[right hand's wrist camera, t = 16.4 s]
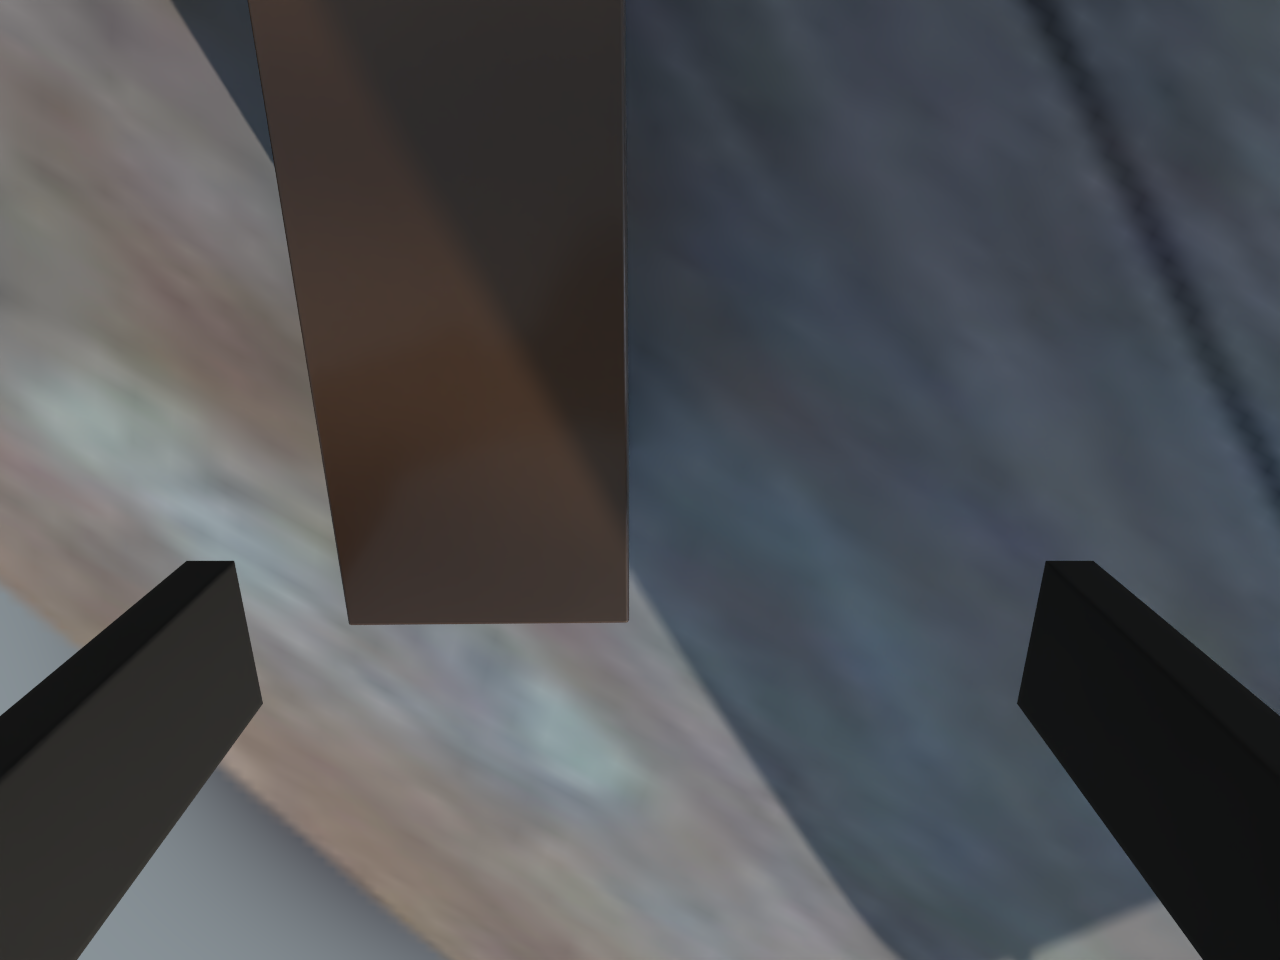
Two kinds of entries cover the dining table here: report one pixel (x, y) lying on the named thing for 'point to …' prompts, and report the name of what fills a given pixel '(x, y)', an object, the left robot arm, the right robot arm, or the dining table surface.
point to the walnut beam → (461, 296)
